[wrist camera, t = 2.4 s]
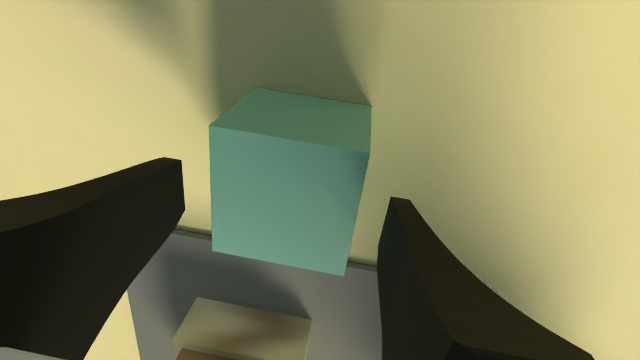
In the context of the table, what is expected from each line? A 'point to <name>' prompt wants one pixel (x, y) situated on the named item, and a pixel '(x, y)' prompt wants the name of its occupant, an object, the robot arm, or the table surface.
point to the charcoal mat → (255, 298)
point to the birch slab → (242, 332)
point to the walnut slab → (198, 356)
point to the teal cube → (288, 178)
